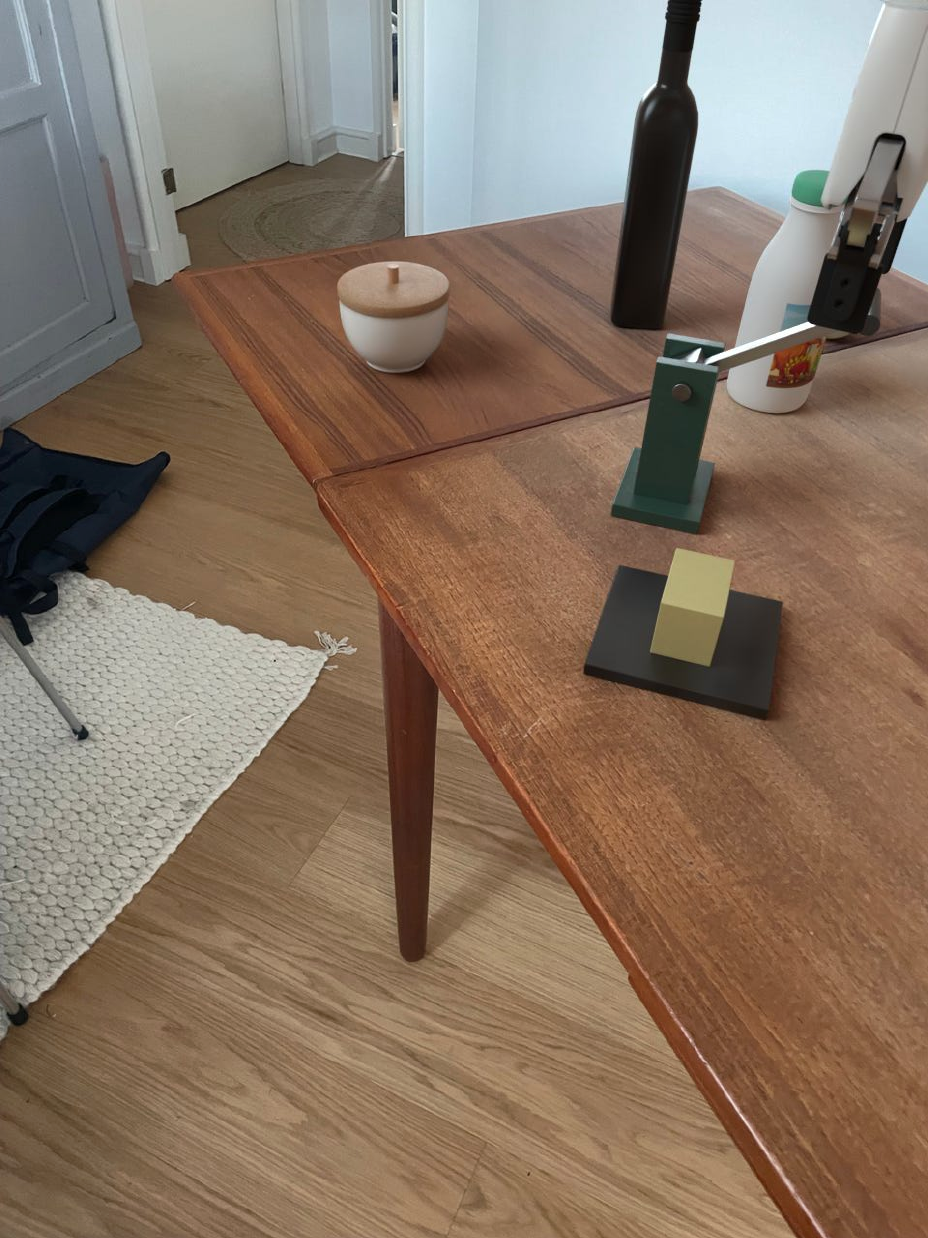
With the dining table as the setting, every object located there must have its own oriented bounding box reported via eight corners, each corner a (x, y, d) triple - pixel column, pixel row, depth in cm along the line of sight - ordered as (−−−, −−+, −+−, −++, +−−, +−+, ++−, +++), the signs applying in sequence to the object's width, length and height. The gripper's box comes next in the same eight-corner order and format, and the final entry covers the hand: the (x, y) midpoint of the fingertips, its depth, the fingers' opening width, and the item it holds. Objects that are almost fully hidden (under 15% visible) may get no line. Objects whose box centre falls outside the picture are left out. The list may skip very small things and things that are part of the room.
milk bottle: (726, 410, 88) (780, 188, 74) (723, 371, 93) (773, 158, 80) (810, 419, 87) (880, 196, 73) (802, 379, 93) (866, 165, 79)
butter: (721, 609, 66) (735, 560, 63) (709, 667, 62) (724, 617, 59) (665, 596, 67) (676, 547, 64) (649, 652, 63) (661, 602, 60)
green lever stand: (712, 474, 80) (746, 333, 71) (697, 534, 74) (732, 389, 65) (632, 458, 82) (655, 318, 73) (610, 516, 75) (633, 371, 67)
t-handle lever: (885, 307, 65) (876, 275, 64) (885, 338, 62) (874, 305, 60) (681, 378, 73) (669, 352, 72) (670, 409, 70) (658, 382, 69)
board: (779, 611, 67) (783, 601, 67) (765, 720, 60) (769, 710, 59) (616, 574, 70) (618, 563, 69) (582, 674, 62) (584, 663, 62)
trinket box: (349, 389, 89) (342, 293, 83) (336, 337, 97) (330, 247, 91) (458, 379, 91) (460, 285, 85) (438, 330, 99) (438, 240, 92)
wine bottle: (660, 308, 104) (716, -14, 83) (663, 331, 100) (722, -2, 79) (609, 304, 104) (652, -17, 84) (610, 327, 100) (655, -5, 80)
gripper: (901, -64, 53) (817, 238, 65) (843, -18, 42) (754, 338, 54) (1044, -51, 51) (930, 260, 63) (1023, 1, 40) (889, 369, 51)
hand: (849, 296), depth 58 cm, fingers open, 9 cm apart
